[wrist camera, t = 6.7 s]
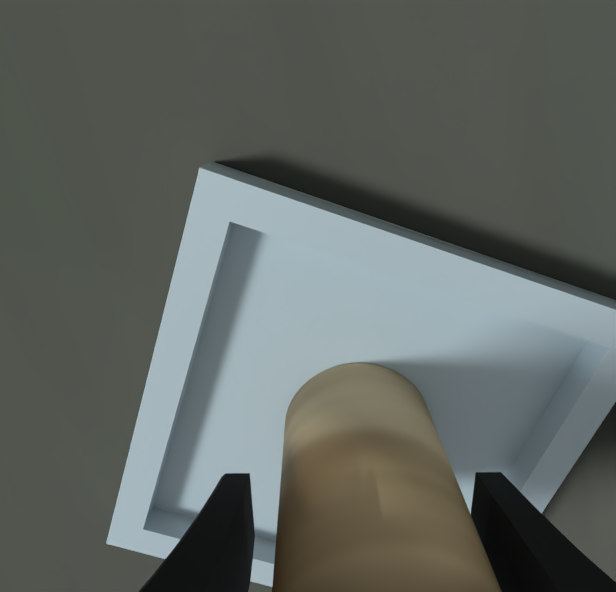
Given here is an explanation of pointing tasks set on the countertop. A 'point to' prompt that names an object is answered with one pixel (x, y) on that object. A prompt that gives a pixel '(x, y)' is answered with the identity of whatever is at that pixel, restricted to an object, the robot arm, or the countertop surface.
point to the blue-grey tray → (349, 354)
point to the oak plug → (371, 493)
